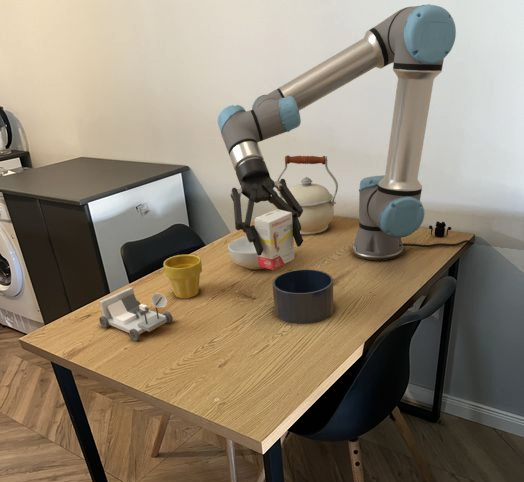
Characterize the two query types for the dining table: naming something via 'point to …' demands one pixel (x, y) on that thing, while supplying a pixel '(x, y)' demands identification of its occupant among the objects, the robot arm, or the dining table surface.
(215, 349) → the dining table surface
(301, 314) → the dark blue round tub
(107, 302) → the toy car
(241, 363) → the dining table surface
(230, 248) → the cereal bowl
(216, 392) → the dining table surface
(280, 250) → the ink box
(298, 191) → the kettle
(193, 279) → the flower pot
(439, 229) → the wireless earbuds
